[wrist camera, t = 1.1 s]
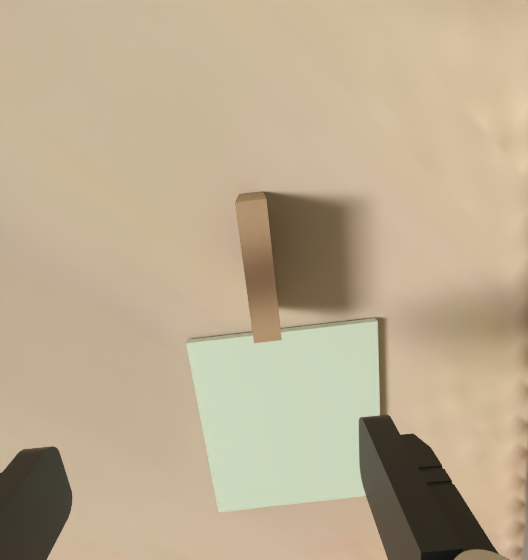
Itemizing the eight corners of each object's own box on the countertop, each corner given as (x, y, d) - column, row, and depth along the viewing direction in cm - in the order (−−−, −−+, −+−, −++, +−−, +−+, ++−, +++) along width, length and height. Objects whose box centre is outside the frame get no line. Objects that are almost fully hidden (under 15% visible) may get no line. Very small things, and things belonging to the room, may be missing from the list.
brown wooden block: (239, 194, 25) (235, 202, 19) (263, 191, 25) (266, 198, 19) (253, 305, 27) (254, 343, 21) (275, 303, 27) (281, 339, 21)
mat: (187, 339, 28) (186, 343, 27) (375, 317, 27) (377, 321, 27) (219, 506, 32) (218, 512, 32) (379, 488, 32) (382, 493, 32)
